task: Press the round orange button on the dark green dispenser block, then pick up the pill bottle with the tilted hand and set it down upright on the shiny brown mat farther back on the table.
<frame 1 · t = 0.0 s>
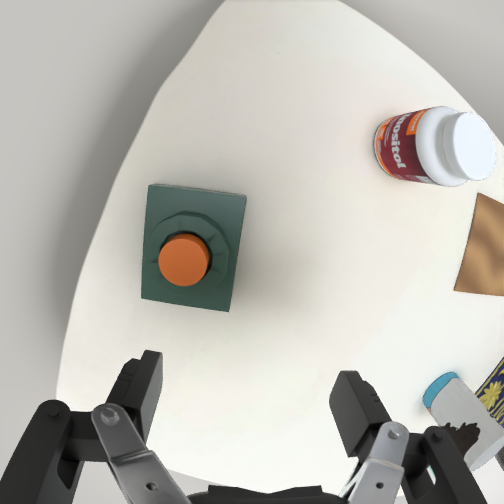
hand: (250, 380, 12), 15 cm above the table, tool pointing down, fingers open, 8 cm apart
shiny brown mat: (493, 249, 28), on the table
cup: (440, 388, 34), on the table
planter: (501, 421, 41), on the table
pill bottle: (398, 148, 25), on the table
dispenser: (192, 244, 26), on the table
button: (184, 259, 22), point 4 cm above the table, slide at 0.1 cm
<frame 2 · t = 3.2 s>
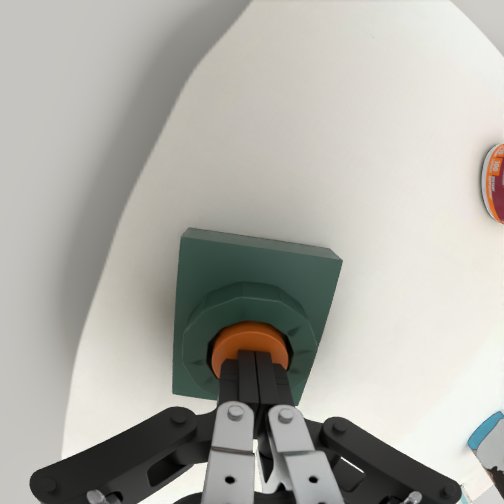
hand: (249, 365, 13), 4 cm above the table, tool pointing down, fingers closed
cup: (484, 428, 25), on the table
can: (448, 493, 33), on the table
pill bottle: (499, 183, 16), on the table
dispenser: (247, 319, 17), on the table
button: (249, 353, 14), point 4 cm above the table, slide at -0.8 cm, touching gripper
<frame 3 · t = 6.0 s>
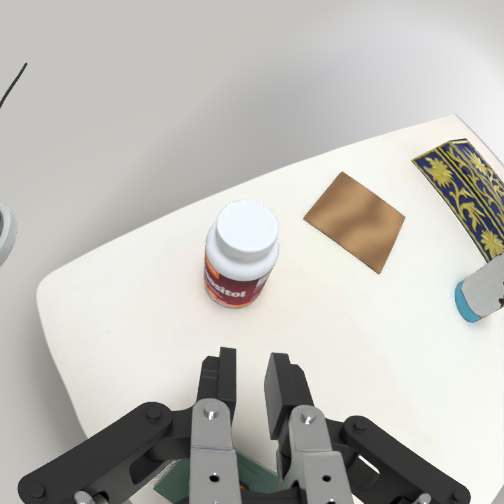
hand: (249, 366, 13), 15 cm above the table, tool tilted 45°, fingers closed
shiny brown mat: (359, 218, 38), on the table
cup: (467, 302, 35), on the table
pill bottle: (233, 282, 31), on the table
dispenser: (223, 486, 21), on the table
button: (227, 500, 17), point 4 cm above the table, slide at 0.1 cm
decorative box: (469, 214, 45), on the table
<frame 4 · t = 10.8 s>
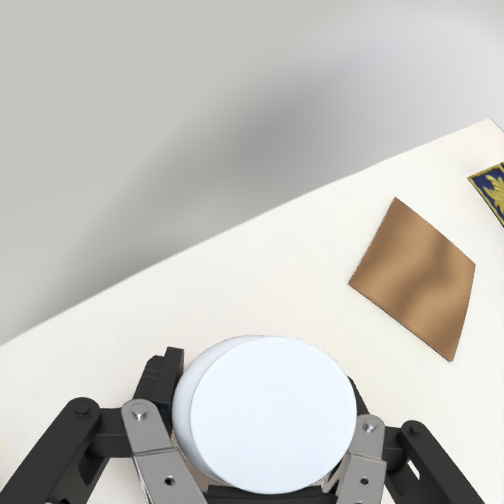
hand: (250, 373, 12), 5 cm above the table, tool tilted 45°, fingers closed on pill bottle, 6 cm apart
shiny brown mat: (424, 273, 23), on the table
pill bottle: (234, 410, 16), on the table, touching gripper
when the fingers open (6 cm above the table, at t = 19.0 s): pill bottle stays where it is, resting on shiny brown mat.
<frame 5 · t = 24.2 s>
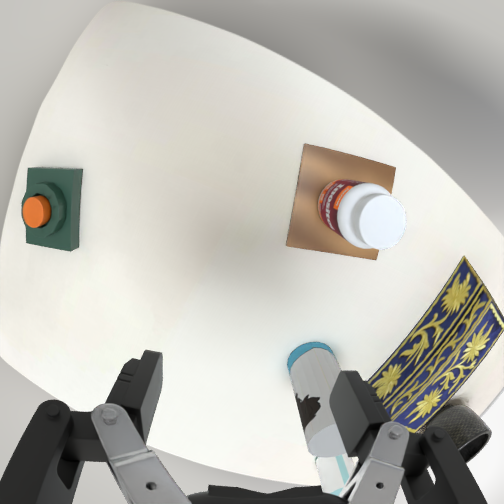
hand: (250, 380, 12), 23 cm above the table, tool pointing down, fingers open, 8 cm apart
shiny brown mat: (343, 204, 33), on the table
cup: (310, 360, 39), on the table
can: (331, 455, 47), on the table
planter: (440, 417, 47), on the table
pill bottle: (340, 205, 33), resting on shiny brown mat
dispenser: (56, 206, 32), on the table
button: (36, 211, 27), point 4 cm above the table, slide at 0.1 cm
decorative box: (425, 345, 40), on the table
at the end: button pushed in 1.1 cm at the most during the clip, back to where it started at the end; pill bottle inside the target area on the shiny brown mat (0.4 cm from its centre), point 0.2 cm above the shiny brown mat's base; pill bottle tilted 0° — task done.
